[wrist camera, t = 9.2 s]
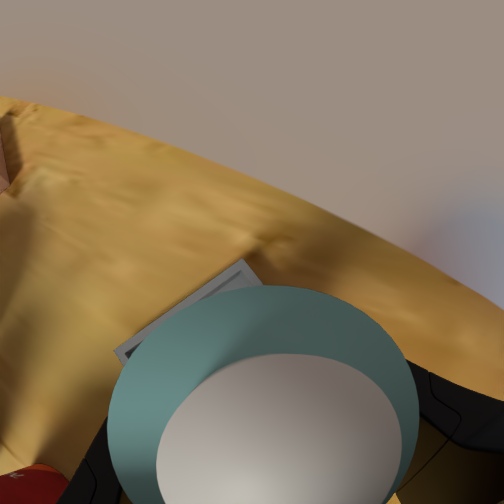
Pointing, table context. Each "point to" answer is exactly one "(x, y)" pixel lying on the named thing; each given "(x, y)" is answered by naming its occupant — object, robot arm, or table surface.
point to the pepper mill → (264, 404)
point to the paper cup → (32, 485)
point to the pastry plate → (3, 169)
